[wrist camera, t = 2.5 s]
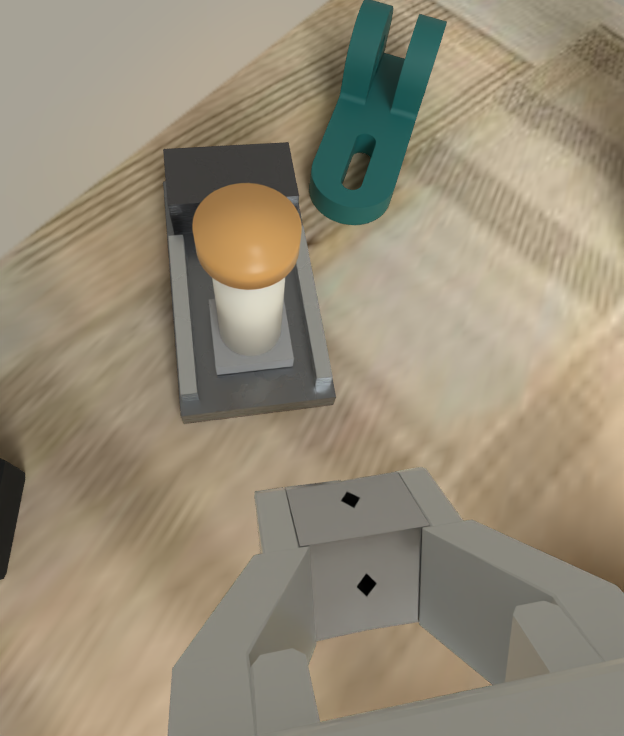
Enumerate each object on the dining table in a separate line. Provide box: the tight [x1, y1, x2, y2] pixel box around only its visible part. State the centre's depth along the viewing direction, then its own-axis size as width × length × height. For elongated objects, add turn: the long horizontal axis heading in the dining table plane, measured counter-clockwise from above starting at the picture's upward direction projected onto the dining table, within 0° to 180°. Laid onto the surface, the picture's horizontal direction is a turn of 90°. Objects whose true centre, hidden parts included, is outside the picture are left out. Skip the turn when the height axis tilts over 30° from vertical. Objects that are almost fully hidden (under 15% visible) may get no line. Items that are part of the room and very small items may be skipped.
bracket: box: [309, 0, 447, 225], centre depth 44 cm, size 18×7×8 cm, turn 163°
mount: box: [163, 142, 336, 424], centre depth 38 cm, size 19×10×5 cm, turn 9°
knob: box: [192, 183, 302, 375], centre depth 32 cm, size 5×5×12 cm
